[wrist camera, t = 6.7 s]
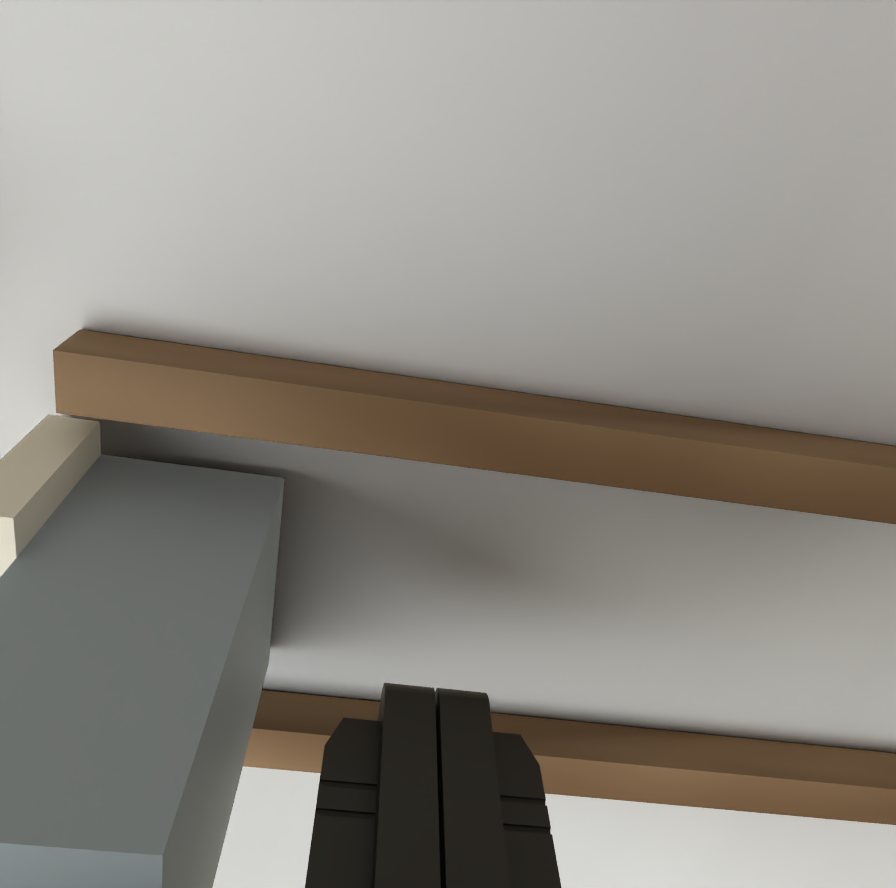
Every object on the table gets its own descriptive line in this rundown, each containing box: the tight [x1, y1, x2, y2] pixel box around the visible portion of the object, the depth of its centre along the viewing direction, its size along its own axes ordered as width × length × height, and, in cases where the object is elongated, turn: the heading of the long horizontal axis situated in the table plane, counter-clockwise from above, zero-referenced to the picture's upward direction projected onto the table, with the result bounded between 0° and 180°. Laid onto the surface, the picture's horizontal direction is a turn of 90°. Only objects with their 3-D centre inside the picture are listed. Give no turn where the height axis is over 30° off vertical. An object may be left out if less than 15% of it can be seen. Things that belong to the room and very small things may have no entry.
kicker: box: [0, 415, 285, 888], centre depth 11 cm, size 5×4×7 cm
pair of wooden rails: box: [53, 330, 896, 825], centre depth 14 cm, size 8×18×1 cm, turn 81°
